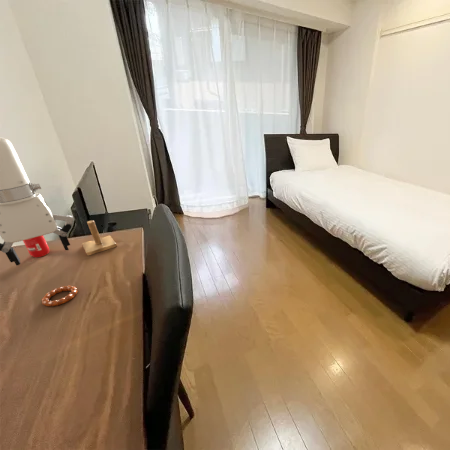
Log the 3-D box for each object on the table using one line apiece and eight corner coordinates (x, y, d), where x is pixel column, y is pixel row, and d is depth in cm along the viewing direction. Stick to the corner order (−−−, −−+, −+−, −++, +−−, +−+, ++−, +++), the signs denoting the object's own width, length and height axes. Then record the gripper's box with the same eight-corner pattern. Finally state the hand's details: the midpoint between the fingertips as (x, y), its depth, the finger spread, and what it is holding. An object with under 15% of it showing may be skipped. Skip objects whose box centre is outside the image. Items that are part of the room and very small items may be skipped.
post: (87, 255, 94) (77, 229, 90) (82, 246, 100) (72, 221, 96) (117, 246, 100) (108, 221, 96) (110, 237, 106) (102, 214, 101)
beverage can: (27, 257, 94) (11, 225, 88) (43, 249, 98) (28, 219, 93) (38, 259, 92) (23, 227, 87) (54, 251, 97) (40, 221, 92)
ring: (44, 311, 71) (42, 307, 70) (41, 297, 75) (39, 293, 75) (80, 297, 75) (78, 293, 75) (75, 285, 80) (73, 281, 80)
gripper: (57, 181, 71) (81, 238, 78) (-43, 198, 60) (-4, 263, 68) (61, 188, 66) (86, 248, 74) (-47, 208, 55) (-4, 276, 63)
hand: (43, 255), depth 71 cm, fingers open, 9 cm apart
